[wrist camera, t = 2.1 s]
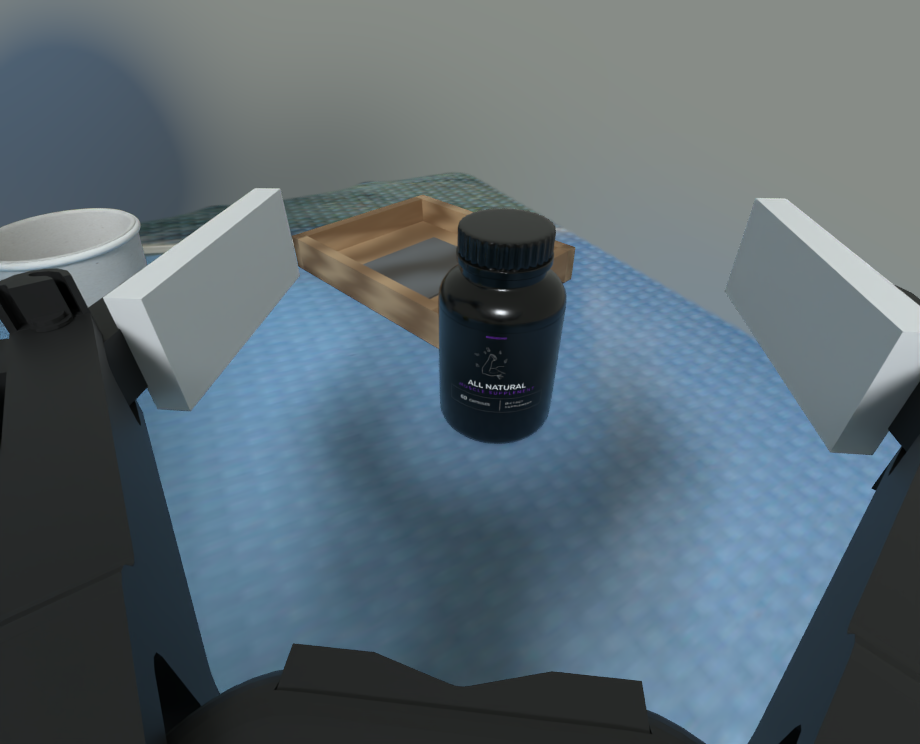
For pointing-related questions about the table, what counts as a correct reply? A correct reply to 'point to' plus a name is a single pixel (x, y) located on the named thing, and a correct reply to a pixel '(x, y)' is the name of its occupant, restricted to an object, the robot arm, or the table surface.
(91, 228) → the dixie cup
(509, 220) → the supplement bottle
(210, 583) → the table surface
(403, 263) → the tray
